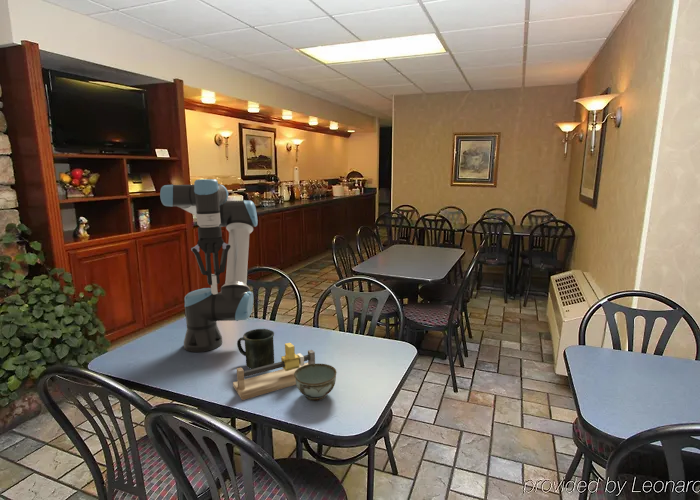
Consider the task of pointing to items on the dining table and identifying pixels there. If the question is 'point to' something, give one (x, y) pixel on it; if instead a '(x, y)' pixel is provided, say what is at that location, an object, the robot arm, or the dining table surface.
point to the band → (301, 359)
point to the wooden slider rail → (266, 381)
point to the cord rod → (269, 367)
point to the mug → (258, 348)
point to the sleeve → (290, 358)
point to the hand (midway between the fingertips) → (214, 293)
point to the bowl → (315, 380)
